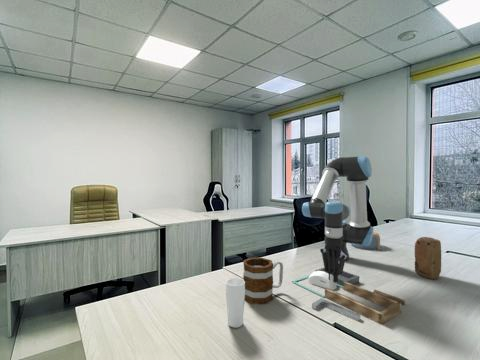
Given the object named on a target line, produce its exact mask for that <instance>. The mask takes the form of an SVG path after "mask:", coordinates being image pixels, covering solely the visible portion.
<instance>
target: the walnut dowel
mask: <svg viewBox="0 0 480 360" xmlns="http://www.w3.org/2000/svg"><path fill="white" fill-rule="evenodd" d="M372 292H373V293H376V294H379V295H381V296H384V297H386V298H389V299H392V300H394V301H397V302H399V303H401V306H405V305H406V300H405V299H402V298H399V297H396V296H393V295H392V294H389V293H386V292H382V291H380V290H378V289H373V291H372Z"/></svg>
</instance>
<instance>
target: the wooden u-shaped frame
mask: <svg viewBox="0 0 480 360" xmlns="http://www.w3.org/2000/svg"><path fill="white" fill-rule="evenodd" d="M342 290H343V291H345V292H348V293H350V294H353V295H354V296H356V297H359V298H362V299H365V300H367V301H369V302H372V303H374V304H376V305H379V306H382V307H384V308H385V309H383V310H382V311H378V310H377V309H374V308H372V307H370V306H367V305H365V304H362V303H360V302H359V301H356V300H353V299H351V298H349V297H347V296H344V295H342V294H341V293H337V292H335V291H333V290H332V289H331V290H330V289H327V288H324V296H325V297H324V298H326V300H330V301H332V302H333V303H335V304H337V305H339V306H341V307H344V308H346V307H347V308H346V309H348V308H349V310H350V309H351V311H353V312H356V313H358V314H360V316H361V315H362V316H363V317H365V318H368V319H369V318H370V320H371V319H372V321H373V320H374V322H376V323H378V324H379V325H384V324H385V323H387V322H388V321H390V320H391V319H393V318H394V317H396V316H397V315H399V314H401V313H402V304H401V303H399V302H397V301H394V300H392V299H389V298H386V297H384V296H381V295H379V294H376V293H373V291H371V290H367V289H365V288H363V287H360V286H358V285H356V284H354V285H353V284H350V283H347V282H343V288H342Z"/></svg>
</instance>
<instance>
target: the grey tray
mask: <svg viewBox="0 0 480 360" xmlns="http://www.w3.org/2000/svg"><path fill="white" fill-rule="evenodd" d="M316 271H324V272H326V273H328V272H327V271H325V268H324V267H321V268H318V269H315V271H314V272H316ZM328 274H329V273H328ZM343 282H347V283H350V284H353V285H356V284H358V283H360V276H359V275H356V274H354V273H351V272H348V271H345V270H343V272H342V274H341V275H338V282H336V284H338V285H341V286H343Z"/></svg>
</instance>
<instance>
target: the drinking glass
mask: <svg viewBox="0 0 480 360" xmlns="http://www.w3.org/2000/svg"><path fill="white" fill-rule="evenodd" d="M225 297H226V300H225V301H226V307H227V308H226V310H227V324H228V326H229V327H231V328H234V329H235V328H241V327H242V326H243V325H244V312H245V302H246V301H245V281H244V280H243V278H237V277H235V278H234V277H233V278H230V279H228V280H226V282H225Z"/></svg>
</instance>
